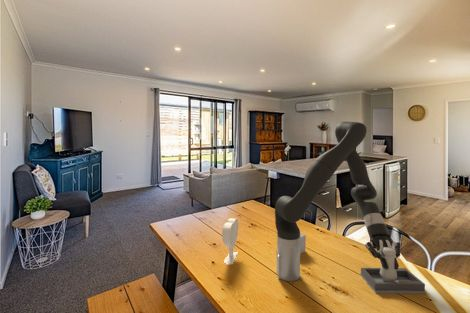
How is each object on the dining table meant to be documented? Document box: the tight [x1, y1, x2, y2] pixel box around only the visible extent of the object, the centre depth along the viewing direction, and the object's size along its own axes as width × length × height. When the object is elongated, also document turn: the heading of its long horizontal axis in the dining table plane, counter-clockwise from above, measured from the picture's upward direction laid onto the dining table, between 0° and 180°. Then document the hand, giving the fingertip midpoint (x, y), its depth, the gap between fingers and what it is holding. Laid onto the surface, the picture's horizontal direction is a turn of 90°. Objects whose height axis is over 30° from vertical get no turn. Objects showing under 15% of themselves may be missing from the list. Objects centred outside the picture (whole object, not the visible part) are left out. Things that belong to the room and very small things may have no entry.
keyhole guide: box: [359, 267, 426, 295], centre depth 96 cm, size 18×12×3 cm, turn 87°
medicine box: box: [300, 233, 307, 255], centre depth 122 cm, size 8×4×9 cm, turn 135°
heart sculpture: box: [221, 217, 239, 265], centre depth 118 cm, size 16×5×18 cm, turn 165°
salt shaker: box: [380, 246, 397, 282], centre depth 96 cm, size 6×6×13 cm
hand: (391, 268), depth 94 cm, fingers closed on salt shaker, 3 cm apart
